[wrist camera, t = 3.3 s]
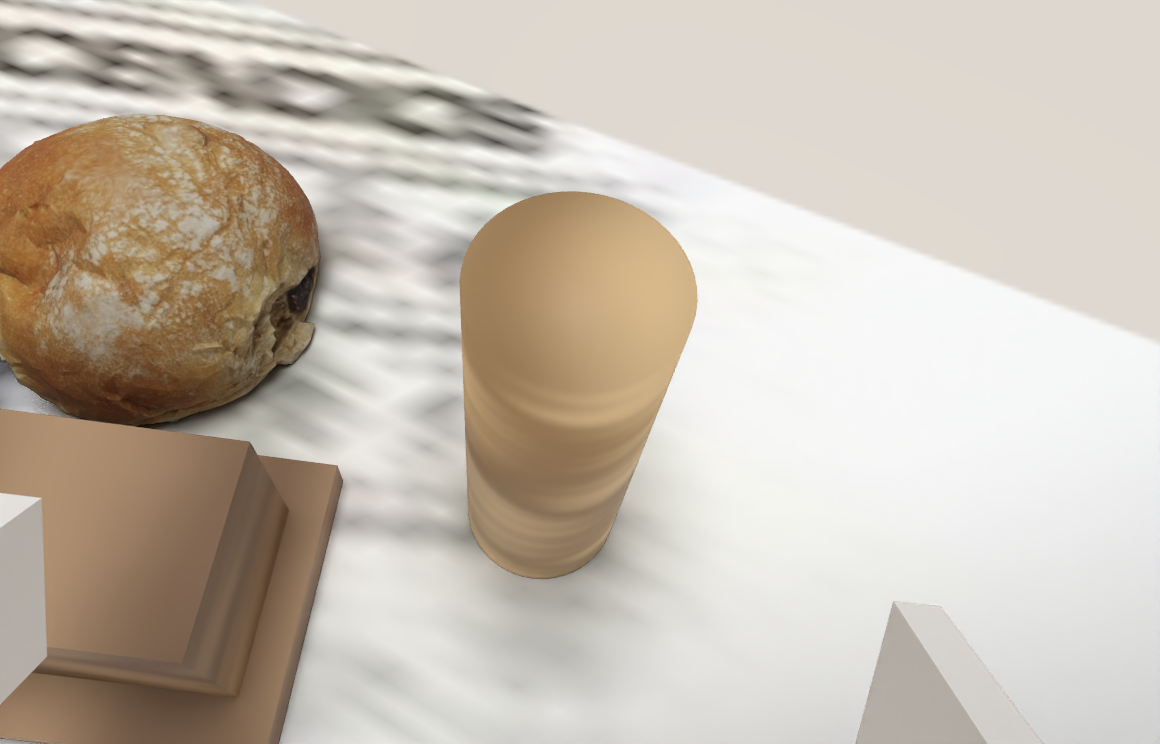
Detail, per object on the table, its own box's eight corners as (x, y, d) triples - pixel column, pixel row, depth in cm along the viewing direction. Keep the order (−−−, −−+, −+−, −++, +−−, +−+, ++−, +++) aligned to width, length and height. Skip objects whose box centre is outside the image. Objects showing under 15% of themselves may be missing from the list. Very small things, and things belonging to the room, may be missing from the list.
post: (618, 449, 28) (701, 208, 18) (607, 587, 26) (692, 407, 15) (480, 431, 28) (479, 176, 17) (456, 568, 26) (440, 373, 15)
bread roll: (250, 489, 30) (318, 408, 24) (-109, 405, 26) (-139, 277, 20) (312, 252, 35) (382, 132, 29) (17, 146, 30) (25, -22, 24)
